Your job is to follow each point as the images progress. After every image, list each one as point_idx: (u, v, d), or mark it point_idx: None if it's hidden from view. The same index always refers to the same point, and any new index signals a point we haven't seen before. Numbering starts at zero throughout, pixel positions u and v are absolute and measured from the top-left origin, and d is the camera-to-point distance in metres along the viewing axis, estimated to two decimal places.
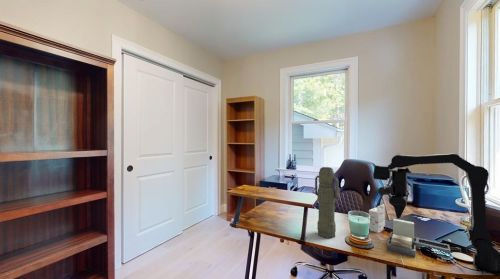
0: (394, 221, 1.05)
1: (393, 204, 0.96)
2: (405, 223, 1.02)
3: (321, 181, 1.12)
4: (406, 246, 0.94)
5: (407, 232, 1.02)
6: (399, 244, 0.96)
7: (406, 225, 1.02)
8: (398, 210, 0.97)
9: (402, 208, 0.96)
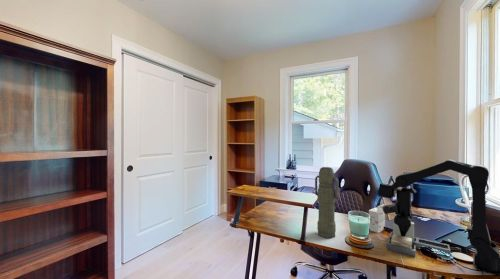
0: None
1: (398, 224, 0.98)
2: None
3: (321, 181, 1.12)
4: (406, 246, 0.94)
5: (407, 232, 1.02)
6: (399, 244, 0.96)
7: None
8: (403, 229, 0.99)
9: (407, 228, 0.98)
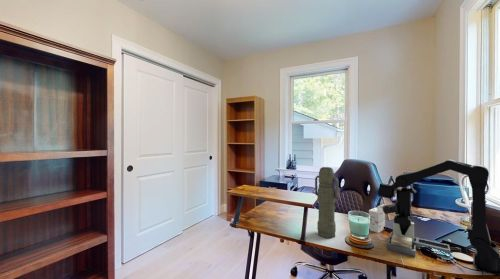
0: None
1: None
2: None
3: (321, 181, 1.12)
4: (406, 246, 0.94)
5: (407, 232, 1.02)
6: (399, 244, 0.96)
7: None
8: (403, 227, 1.02)
9: (407, 225, 1.00)
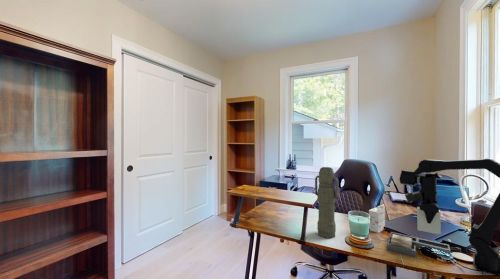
0: (418, 209, 0.99)
1: None
2: None
3: (321, 181, 1.12)
4: (406, 246, 0.94)
5: (433, 220, 0.96)
6: (399, 244, 0.96)
7: None
8: (429, 215, 0.96)
9: (433, 213, 0.95)
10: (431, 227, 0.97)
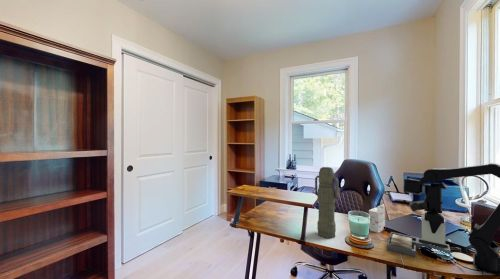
0: (423, 219, 0.98)
1: None
2: None
3: (321, 181, 1.12)
4: (406, 246, 0.94)
5: (437, 230, 0.95)
6: (399, 244, 0.96)
7: None
8: (434, 225, 0.95)
9: (438, 223, 0.94)
10: (435, 237, 0.96)
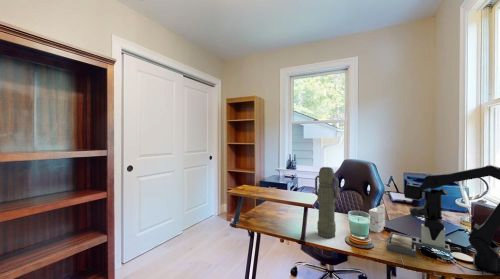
0: (422, 226, 0.99)
1: None
2: None
3: (321, 181, 1.12)
4: (406, 246, 0.94)
5: (437, 238, 0.95)
6: (399, 244, 0.96)
7: None
8: (433, 232, 0.94)
9: (438, 230, 0.93)
10: (435, 245, 0.96)
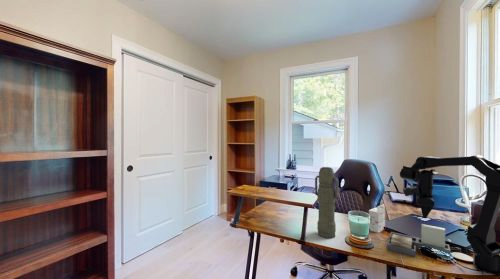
0: (422, 227, 0.98)
1: (420, 205, 0.99)
2: (435, 229, 0.96)
3: (321, 181, 1.12)
4: (406, 246, 0.94)
5: (437, 239, 0.95)
6: (399, 244, 0.96)
7: (436, 231, 0.96)
8: (425, 210, 1.00)
9: (429, 208, 0.99)
10: (435, 245, 0.96)
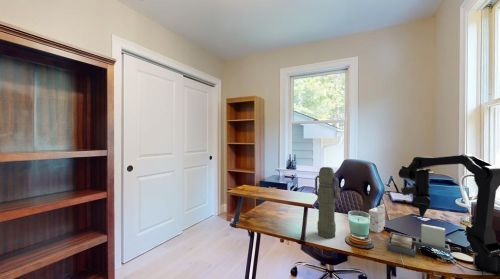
0: (422, 227, 0.98)
1: (417, 203, 1.03)
2: (435, 229, 0.96)
3: (321, 181, 1.12)
4: (406, 246, 0.94)
5: (437, 239, 0.95)
6: (399, 244, 0.96)
7: (436, 231, 0.96)
8: (422, 209, 1.04)
9: (426, 207, 1.02)
10: (435, 245, 0.96)
